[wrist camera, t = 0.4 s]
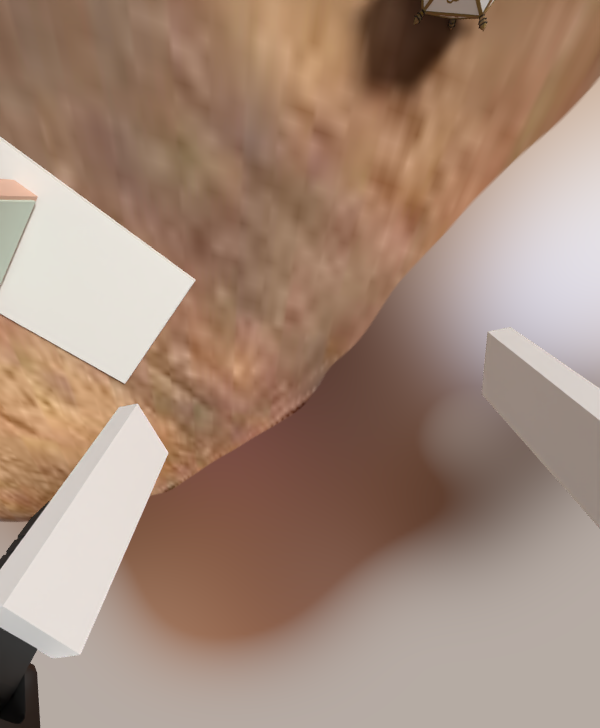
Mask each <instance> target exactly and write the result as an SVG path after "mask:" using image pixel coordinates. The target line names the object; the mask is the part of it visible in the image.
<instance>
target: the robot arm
mask: <svg viewBox="0 0 600 728" xmlns="http://www.w3.org/2000/svg"><path fill="white" fill-rule="evenodd" d="M482 395H483V396H484V397H485V398H486V399H487V400H488V402H489V403H490V404H491V405H492V406H493V407H494V409H495V410H496V411H497V412H498V413H499V414H500V415H501V417H502V418H503V419H504V420H505V421H506V422H507V423H508V424H509V426H510V427H511V428H512V429H513V430H514V431H515V432H516V434H517V435H518V436H519V437H520V438H521V439H522V440H523V442H524V443H525V444H526V445H527V446H528V447H529V448H530V449H531V451H532V452H533V453H534V454H535V455H536V456H537V457H538V459H539V460H540V461H541V462H542V463H543V464H544V465H545V467H546V468H547V469H548V470H549V471H550V472H551V473H552V474H553V476H554V477H555V478H556V479H557V480H558V481H559V483H560V484H561V485H562V486H563V487H564V488H565V489H566V491H567V492H568V493H569V494H570V495H571V496H572V497H573V498H574V500H575V501H576V502H577V503H578V504H579V505H580V506H581V508H582V509H583V510H584V511H585V512H586V513H587V514H588V516H589V517H590V518H591V519H592V520H593V521H594V522H595V523H596V525H597V526H598V527H599V528H600V388H598V387H597V386H595V385H594V384H592V383H591V382H589V381H588V380H586V379H585V378H584V377H582V376H581V375H579V374H578V373H576V372H575V371H573V370H572V369H570V368H569V367H567V366H566V365H565V364H563V363H562V362H560V361H559V360H557V359H556V358H554V357H553V356H552V355H550V354H549V353H547V352H546V351H544V350H543V349H541V348H540V347H539V346H537V345H535V344H534V343H532V342H531V341H530V340H528V339H527V338H525V337H524V336H523V335H521V334H520V333H518V332H517V331H515V330H514V329H512V328H511V327H509V328H504V329H499V330H494V331H489V332H488V334H487V344H486V354H485V364H484V376H483V386H482ZM167 455H168V451H167V450H166V448H165V447H164V445H163V443H162V442H161V440H160V439H159V437H158V435H157V434H156V432H155V431H154V429H153V427H152V426H151V424H150V423H149V421H148V419H147V418H146V416H145V415H144V413H143V412H142V410H141V408H140V407H139V405H138V404H133V405H128V406H123V407H119V408H118V410H117V411H116V412H115V414H114V415H113V416H112V418H111V419H110V420H109V422H108V423H107V425H106V426H105V427H104V429H103V430H102V431H101V433H100V434H99V435H98V437H97V438H96V440H95V441H94V442H93V444H92V445H91V446H90V448H89V449H88V450H87V452H86V453H85V455H84V456H83V457H82V459H81V460H80V461H79V463H78V464H77V465H76V467H75V468H74V470H73V471H72V472H71V474H70V475H69V476H68V478H67V479H66V480H65V482H64V483H63V485H62V486H61V487H60V489H59V490H58V491H57V493H56V494H55V495H54V497H53V498H52V500H51V501H49V502H48V503H47V504H46V505H45V506H44V507H43V508H41V509H40V510H39V511H38V512H37V513H36V514H35V515H34V516H33V517H32V518H31V519H30V520H29V522H28V523H27V524H26V526H25V527H24V528H23V530H22V531H21V532H20V534H19V535H18V539H17V540H14V542H13V543H12V544H11V546H10V547H9V548H8V550H7V551H6V552H7V553H6V555H3V556H2V558H1V559H0V728H40V715H39V698H38V683H37V672H36V669H35V666H34V665H33V664H31V663H30V662H31V660H32V658H33V656H34V654H35V653H36V651H37V650H39V651H41V652H42V653H44V654H46V655H48V656H49V657H51V658H59V657H68V656H75V655H80V654H81V652H82V650H83V648H84V645H85V643H86V641H87V638H88V636H89V634H90V631H91V629H92V627H93V625H94V622H95V620H96V618H97V615H98V613H99V611H100V609H101V606H102V604H103V602H104V599H105V597H106V595H107V592H108V590H109V588H110V585H111V583H112V581H113V579H114V576H115V574H116V572H117V570H118V567H119V565H120V563H121V560H122V558H123V556H124V553H125V551H126V549H127V547H128V544H129V542H130V540H131V537H132V535H133V533H134V531H135V528H136V526H137V523H138V521H139V519H140V517H141V514H142V512H143V510H144V508H145V505H146V503H147V501H148V498H149V496H150V494H151V492H152V489H153V487H154V485H155V482H156V480H157V478H158V476H159V473H160V471H161V469H162V466H163V464H164V462H165V459H166V457H167Z"/></svg>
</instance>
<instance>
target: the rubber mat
mask: <svg viewBox="0 0 600 728" xmlns="http://www.w3.org/2000/svg"><path fill="white" fill-rule="evenodd" d="M0 179H11V180H15V181H16V182H18V183H19V184H21V185H22V186H24V187H25V188H26V189H28V190H29V191H31V192H32V193H34V194H35V195H36V196H38V197H37V200H36V202H35V204H34V207H33V209H32V211H31V214H30V216H29V219H28V221H27V223H26V226H25V228H24V230H23V233H22V235H21V237H20V240H19V242H18V245H17V247H16V249H15V252H14V254H13V256H12V259H11V261H10V263H9V266H8V268H7V270H6V273H5V275H4V278H3V280H2V282H1V285H0V314H2V315H4V316H5V317H7V318H9V319H11V320H12V321H14V322H16V323H18V324H20V325H21V326H23V327H25V328H27V329H28V330H30V331H32V332H34V333H36V334H37V335H39V336H41V337H43V338H44V339H46V340H48V341H50V342H52V343H53V344H55V345H57V346H59V347H60V348H62V349H64V350H66V351H68V352H69V353H71V354H73V355H75V356H76V357H78V358H80V359H82V360H83V361H85V362H87V363H89V364H91V365H92V366H94V367H96V368H98V369H99V370H101V371H103V372H105V373H107V374H108V375H110V376H112V377H114V378H115V379H117V380H119V381H121V382H123V383H124V384H125V383H126V382H127V381H128V379H129V378H130V376H131V375H132V373H133V372H134V370H135V369H136V367H137V366H138V364H139V363H140V361H141V360H142V359H143V357H144V356H145V354H146V353H147V351H148V350H149V348H150V347H151V345H152V344H153V342H154V341H155V339H156V338H157V336H158V335H159V334H160V332H161V331H162V329H163V328H164V326H165V325H166V323H167V322H168V320H169V319H170V317H171V316H172V314H173V313H174V312H175V310H176V309H177V307H178V306H179V304H180V303H181V301H182V300H183V298H184V297H185V295H186V294H187V292H188V291H189V289H190V288H191V287H192V285H193V284H194V282H195V281H196V280H195V279H194V278H192V277H191V276H190V275H188V274H187V273H186V272H184V271H183V270H181V269H180V268H179V267H177V266H176V265H175V264H173V263H172V262H171V261H169V260H168V259H166V258H165V257H164V256H162V255H161V254H160V253H158V252H157V251H156V250H154V249H153V248H151V247H150V246H149V245H147V244H146V243H145V242H143V241H142V240H141V239H139V238H138V237H136V236H135V235H134V234H132V233H131V232H130V231H128V230H127V229H126V228H124V227H123V226H122V225H120V224H119V223H117V222H116V221H115V220H113V219H112V218H111V217H109V216H108V215H107V214H105V213H104V212H102V211H101V210H100V209H98V208H97V207H96V206H94V205H93V204H92V203H90V202H89V201H87V200H86V199H85V198H83V197H82V196H81V195H79V194H78V193H77V192H75V191H74V190H72V189H71V188H70V187H68V186H67V185H66V184H64V183H63V182H62V181H60V180H59V179H57V178H56V177H55V176H53V175H52V174H51V173H49V172H48V171H47V170H45V169H44V168H42V167H41V166H40V165H38V164H37V163H36V162H34V161H33V160H32V159H30V158H29V157H27V156H26V155H25V154H23V153H22V152H21V151H19V150H18V149H17V148H15V147H14V146H12V145H11V144H10V143H8V142H7V141H6V140H4V139H3V138H2V137H0Z"/></svg>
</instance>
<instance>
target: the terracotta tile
mask: <svg viewBox="0 0 600 728" xmlns="http://www.w3.org/2000/svg"><path fill="white" fill-rule="evenodd" d="M37 197H38V196H36V195H35V194H34V193H32V192H31V191H29V190H28V189H26V188H25V187H24V186H22V185H21V184H19V183H18V182H16V181H15V180H11V179H0V285H1V282H2V280H3V278H4V275H5V273H6V270H7V268H8V266H9V263H10V261H11V259H12V256H13V254H14V252H15V249H16V247H17V245H18V242H19V240H20V237H21V235H22V233H23V230H24V228H25V226H26V223H27V221H28V219H29V216H30V214H31V211H32V209H33V207H34V204H35V202H36V200H37Z"/></svg>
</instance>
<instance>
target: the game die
mask: <svg viewBox="0 0 600 728" xmlns="http://www.w3.org/2000/svg"><path fill="white" fill-rule="evenodd" d="M494 1H495V0H421V11H420V12H418V13H417V15H416V16H415V19H414V23H413V25H414V24H417V23H420V20H422V17H423V15H424V14H427V15H433V16H438V17H444V18H449V19H451V20H450V21H449V24H448V27H449V29H450V30H451V29H452V28H453V27H454V26H455V22H456V21H455V19H478V18H479V23H478V25H479V28H480V29H481V30H483V31H484V29H485V26H486V24H487V22H486V19H487V18H485V13H486V12H487V10H488V9H489V8H490V7H491V5H492V4H493V3H494Z"/></svg>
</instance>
